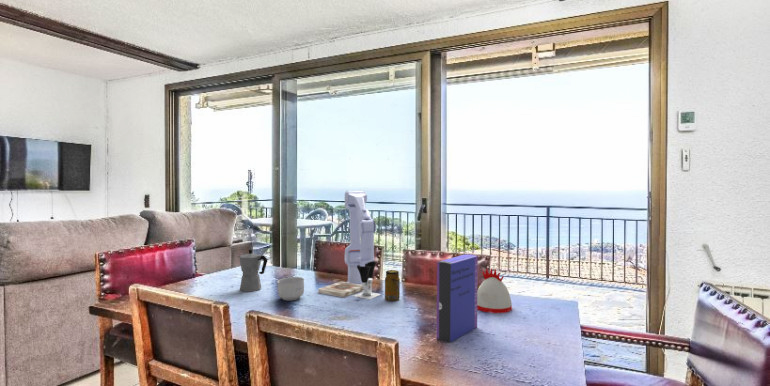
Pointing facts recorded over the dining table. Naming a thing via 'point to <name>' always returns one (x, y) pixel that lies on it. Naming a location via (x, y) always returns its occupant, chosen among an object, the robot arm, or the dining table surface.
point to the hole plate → (344, 292)
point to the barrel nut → (367, 287)
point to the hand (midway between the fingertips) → (367, 280)
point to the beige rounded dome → (493, 294)
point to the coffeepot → (251, 271)
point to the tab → (367, 296)
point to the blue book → (456, 297)
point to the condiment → (392, 285)
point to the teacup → (290, 288)
